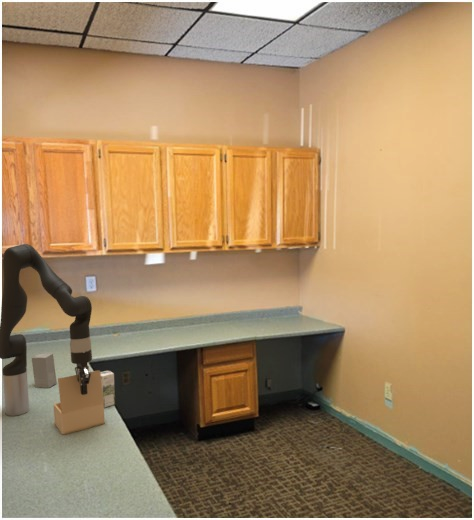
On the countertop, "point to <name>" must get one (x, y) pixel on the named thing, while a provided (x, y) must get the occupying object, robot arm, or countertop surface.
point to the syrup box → (108, 388)
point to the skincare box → (44, 370)
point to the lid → (72, 394)
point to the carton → (78, 418)
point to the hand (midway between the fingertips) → (84, 394)
